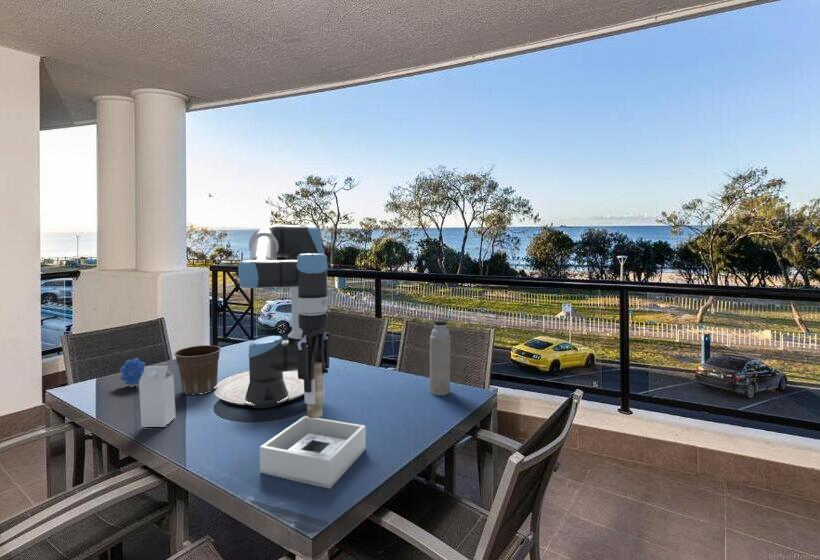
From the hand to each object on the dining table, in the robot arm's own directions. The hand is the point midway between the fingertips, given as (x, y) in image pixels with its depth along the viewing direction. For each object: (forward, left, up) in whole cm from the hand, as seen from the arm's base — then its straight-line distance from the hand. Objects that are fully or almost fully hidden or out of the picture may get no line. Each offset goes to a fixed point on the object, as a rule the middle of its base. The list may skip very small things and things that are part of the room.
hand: (314, 399), depth 110 cm
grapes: (-100, +26, -17) cm, 105 cm away
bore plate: (0, 0, -17) cm, 17 cm away
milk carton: (-60, +3, -17) cm, 63 cm away
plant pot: (-72, +31, -17) cm, 80 cm away
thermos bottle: (+18, +61, -17) cm, 66 cm away
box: (0, 0, -17) cm, 17 cm away
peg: (0, 0, -4) cm, 4 cm away
